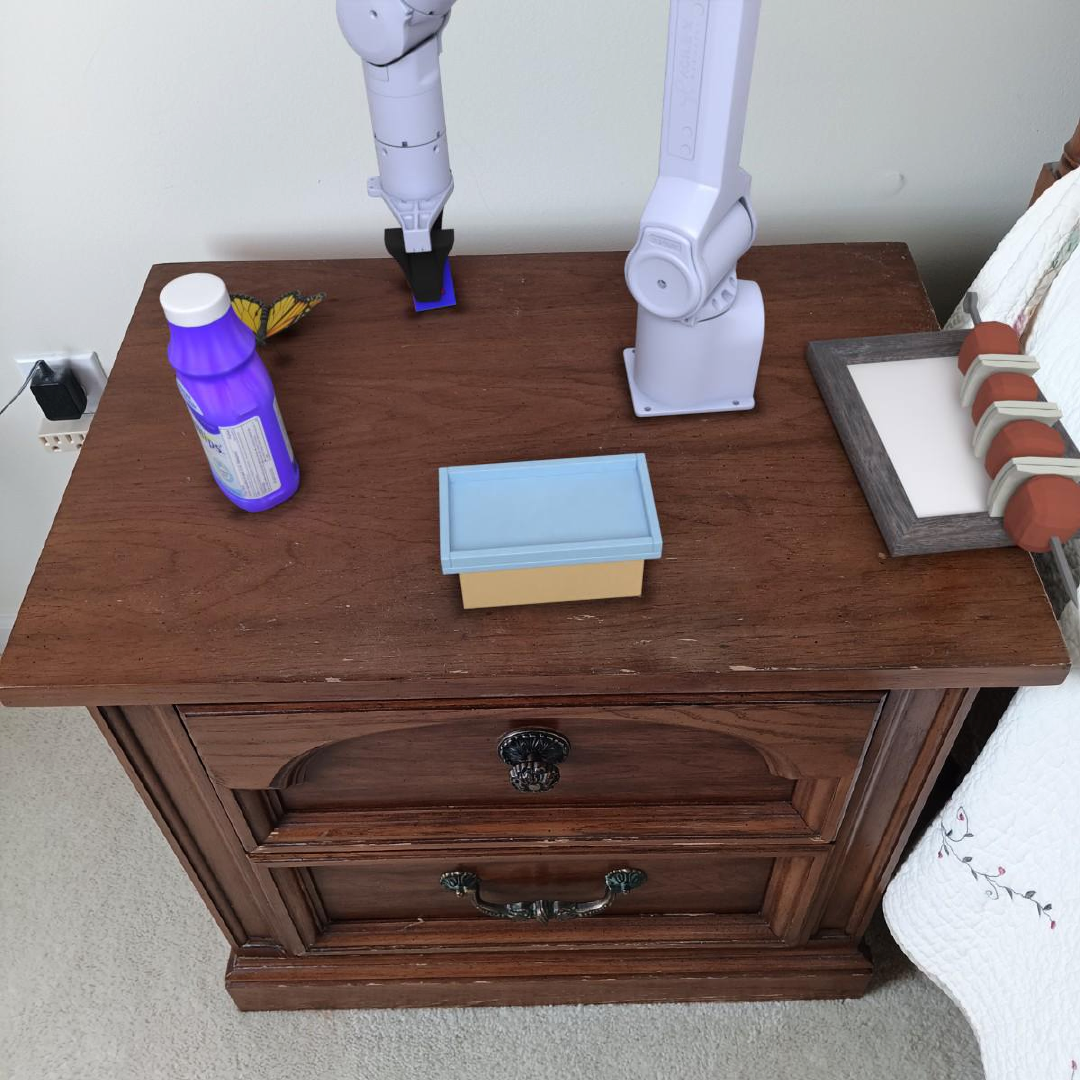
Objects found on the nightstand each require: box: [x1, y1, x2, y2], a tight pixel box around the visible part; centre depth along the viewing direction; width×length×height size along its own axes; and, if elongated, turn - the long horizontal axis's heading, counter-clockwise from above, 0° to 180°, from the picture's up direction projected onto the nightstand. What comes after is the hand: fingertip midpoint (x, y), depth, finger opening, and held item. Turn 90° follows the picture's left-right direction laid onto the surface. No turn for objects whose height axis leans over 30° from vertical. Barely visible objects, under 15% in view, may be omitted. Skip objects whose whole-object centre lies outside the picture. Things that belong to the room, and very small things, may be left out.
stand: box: [438, 452, 663, 610], centre depth 68 cm, size 14×8×6 cm, turn 94°
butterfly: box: [228, 289, 327, 375], centre depth 84 cm, size 12×9×5 cm
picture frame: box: [805, 327, 1080, 558], centre depth 76 cm, size 16×2×21 cm
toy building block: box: [406, 256, 457, 312], centre depth 88 cm, size 4×4×8 cm
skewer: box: [958, 291, 1080, 610], centre depth 71 cm, size 5×5×30 cm
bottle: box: [159, 272, 301, 513], centre depth 69 cm, size 7×6×17 cm
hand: (428, 275), depth 89 cm, fingers open, 6 cm apart
